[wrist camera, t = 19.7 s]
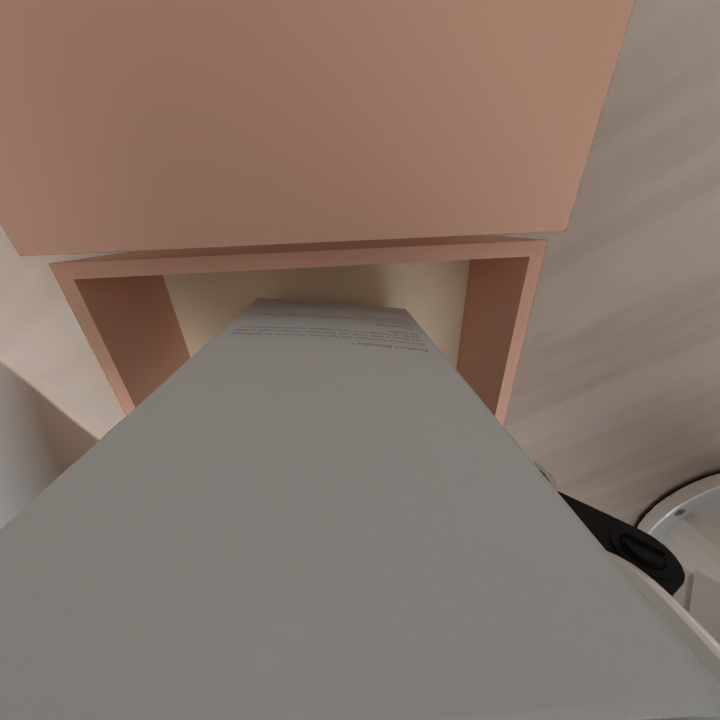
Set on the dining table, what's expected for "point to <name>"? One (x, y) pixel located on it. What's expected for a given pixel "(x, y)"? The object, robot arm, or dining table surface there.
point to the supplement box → (323, 553)
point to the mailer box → (307, 283)
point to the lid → (295, 119)
